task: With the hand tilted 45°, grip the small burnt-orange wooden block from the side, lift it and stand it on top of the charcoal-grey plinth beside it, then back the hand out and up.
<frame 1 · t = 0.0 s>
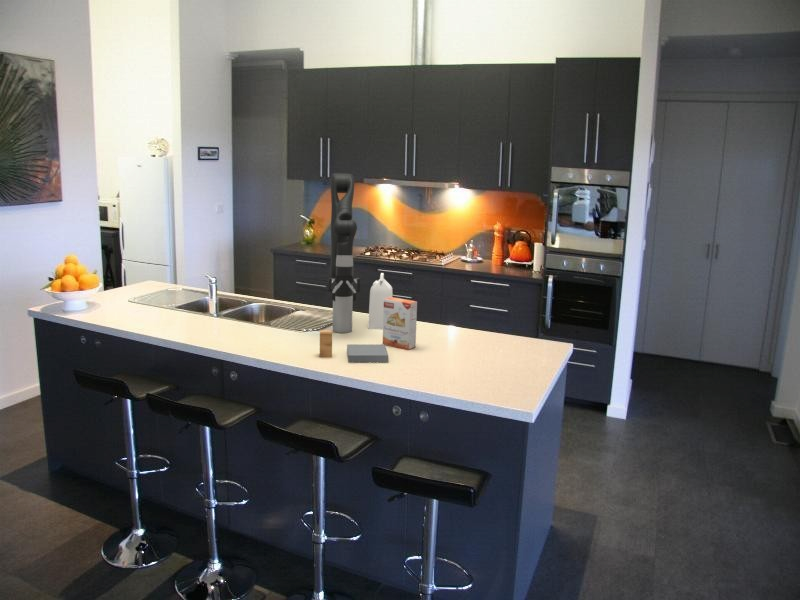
hand: (344, 301, 301), 17 cm above the table, tool pointing down, fingers open, 8 cm apart
milk: (380, 326, 329), on the table
cracker box: (398, 346, 295), on the table
grey plinth: (367, 356, 278), on the table
orange block: (325, 355, 278), on the table
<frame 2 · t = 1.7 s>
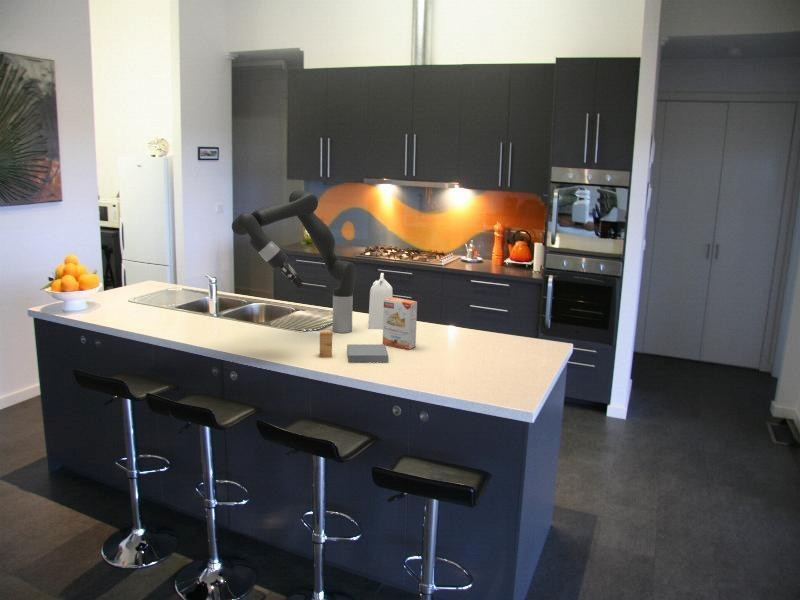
hand: (300, 284, 270), 30 cm above the table, tool tilted 45°, fingers open, 8 cm apart
nothing on the table moved.
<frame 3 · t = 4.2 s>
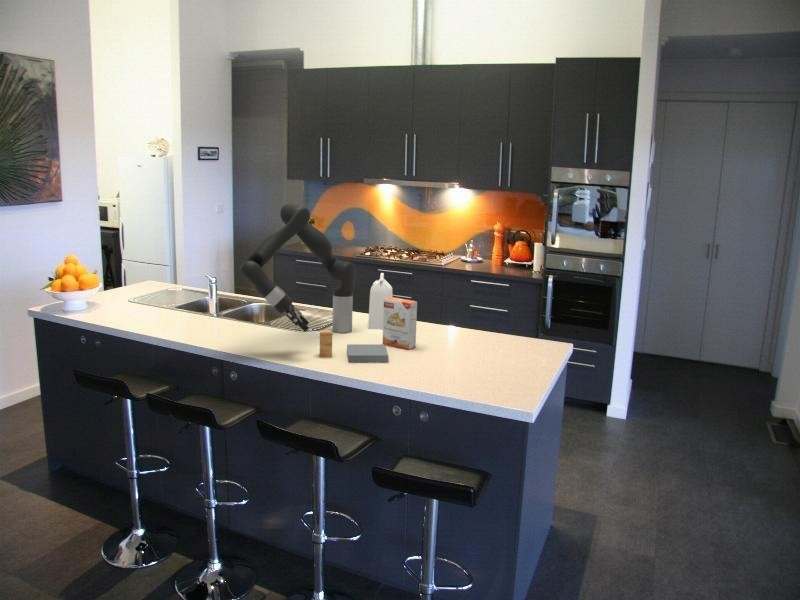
hand: (307, 327, 274), 12 cm above the table, tool tilted 45°, fingers open, 8 cm apart
nothing on the table moved.
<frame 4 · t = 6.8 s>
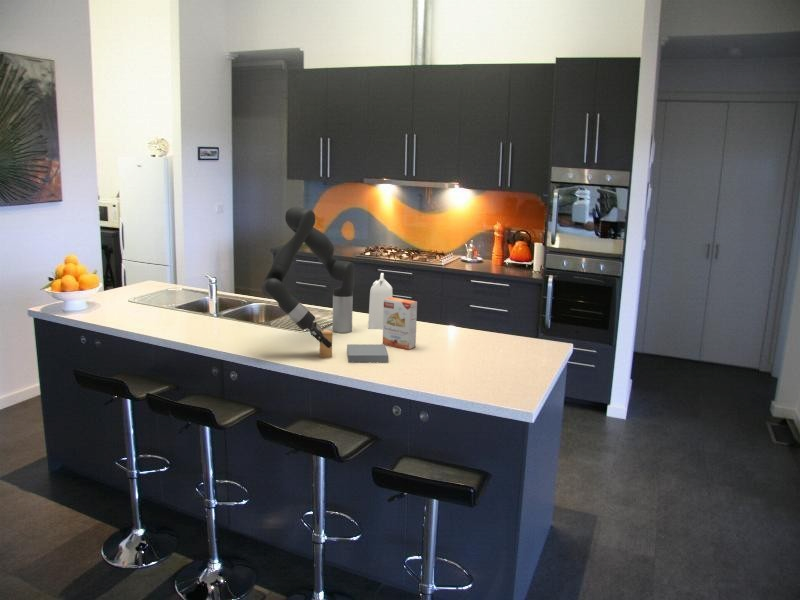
hand: (330, 344, 277), 5 cm above the table, tool tilted 45°, fingers closed on orange block, 5 cm apart
orange block: (325, 355, 278), on the table, touching gripper
everything else where it was.
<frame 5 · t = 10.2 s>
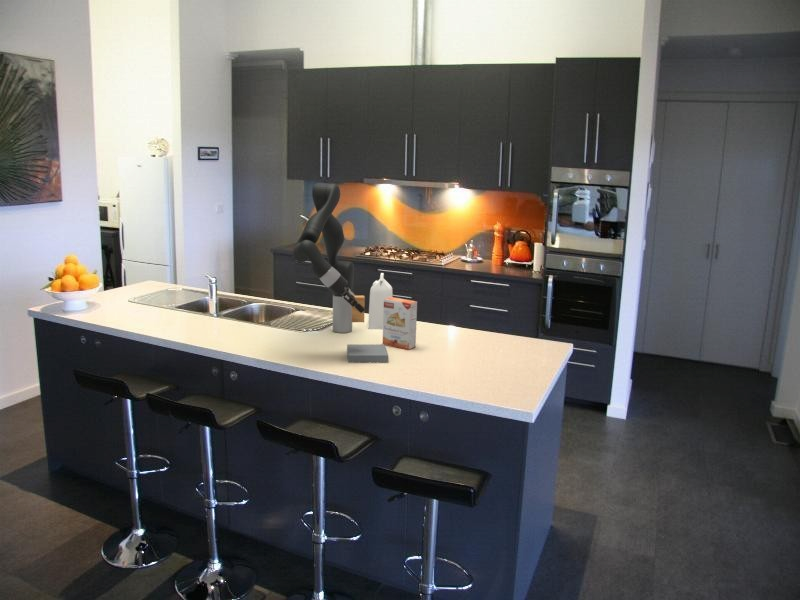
hand: (362, 309, 274), 20 cm above the table, tool tilted 45°, fingers closed on orange block, 5 cm apart
orange block: (357, 320, 275), point 15 cm above the table, touching gripper
everything else where it was.
when the fingers open (9 cm above the table, at t = 13.7 s): orange block drops 1 cm, resting on grey plinth.
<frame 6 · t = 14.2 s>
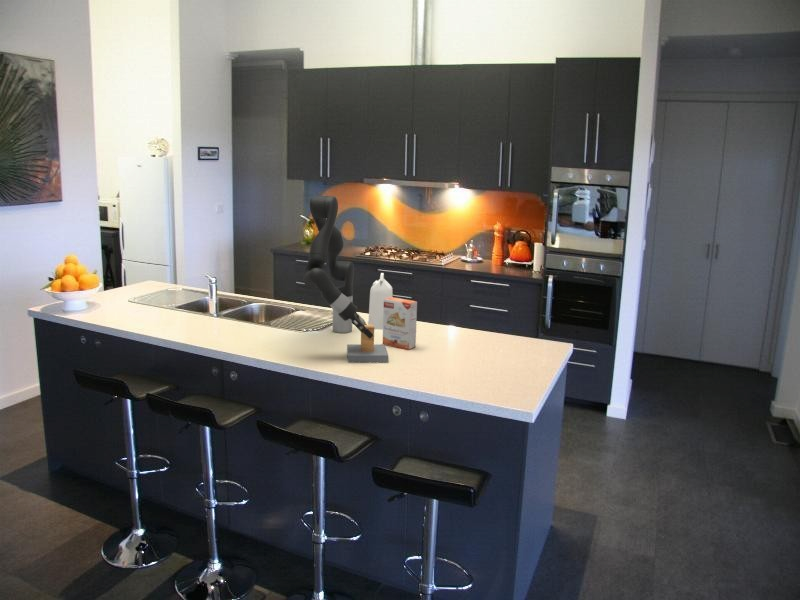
hand: (370, 334, 276), 10 cm above the table, tool tilted 45°, fingers open, 8 cm apart
orange block: (367, 349, 277), point 3 cm above the table, touching grey plinth
everything else where it was.
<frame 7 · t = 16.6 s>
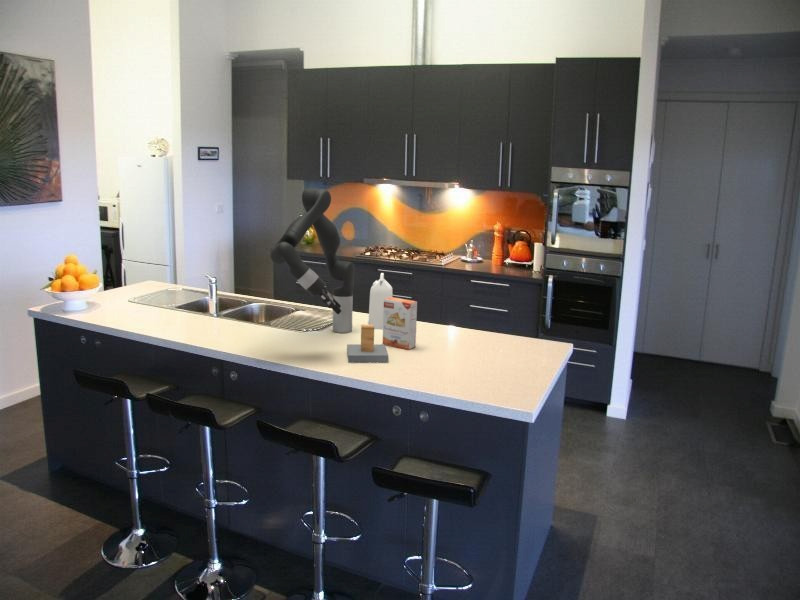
hand: (339, 310, 272), 20 cm above the table, tool tilted 45°, fingers open, 8 cm apart
nothing on the table moved.
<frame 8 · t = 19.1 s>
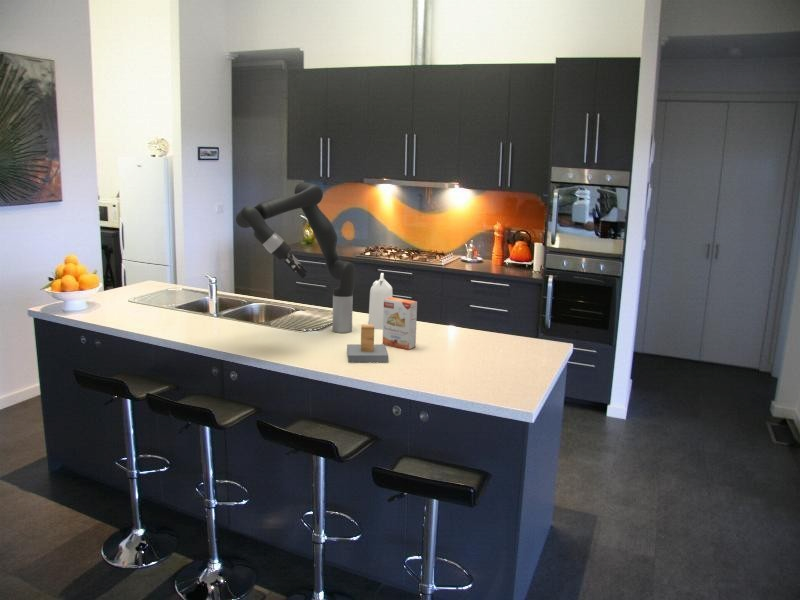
hand: (305, 274, 276), 33 cm above the table, tool tilted 45°, fingers open, 8 cm apart
nothing on the table moved.
at the end: orange block inside the target area on the grey plinth (0.1 cm from its centre), point 3.0 cm above the grey plinth's base; orange block tilted 0°; the gripper is holding nothing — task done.
